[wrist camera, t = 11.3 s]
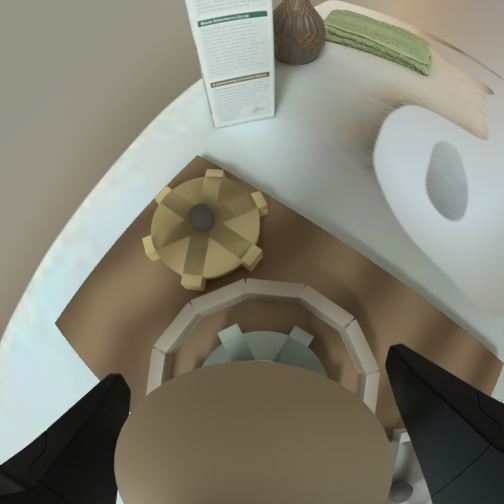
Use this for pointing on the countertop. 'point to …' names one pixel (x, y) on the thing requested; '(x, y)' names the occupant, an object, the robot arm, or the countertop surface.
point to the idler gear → (254, 432)
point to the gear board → (258, 302)
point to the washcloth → (378, 39)
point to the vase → (297, 32)
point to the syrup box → (235, 57)
